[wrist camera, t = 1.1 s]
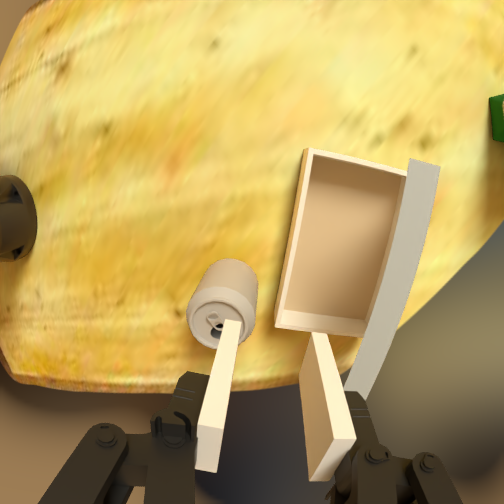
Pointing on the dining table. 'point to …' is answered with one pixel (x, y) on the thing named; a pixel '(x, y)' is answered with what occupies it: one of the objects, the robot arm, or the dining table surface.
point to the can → (223, 301)
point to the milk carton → (497, 117)
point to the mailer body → (338, 243)
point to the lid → (396, 275)
